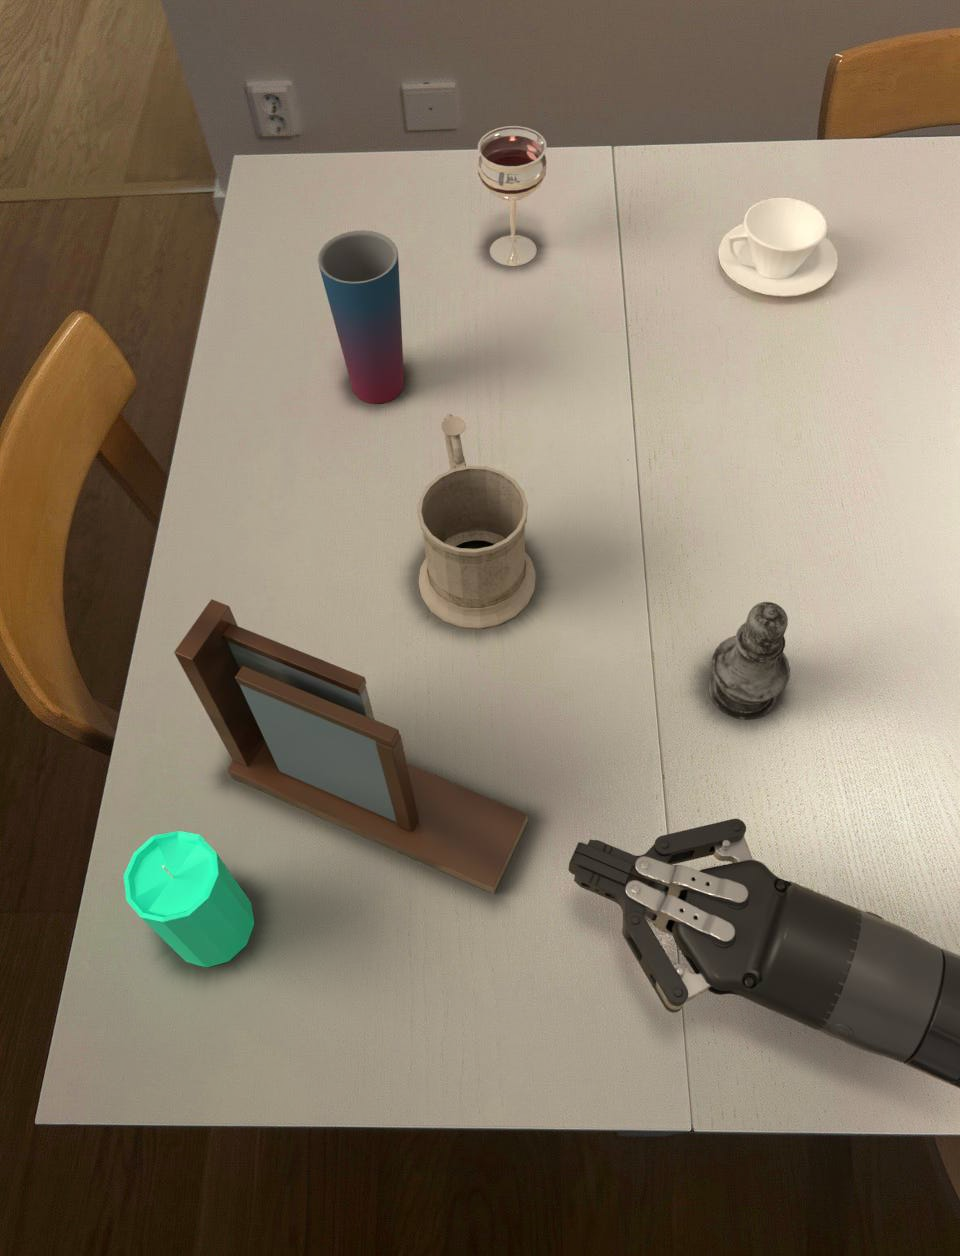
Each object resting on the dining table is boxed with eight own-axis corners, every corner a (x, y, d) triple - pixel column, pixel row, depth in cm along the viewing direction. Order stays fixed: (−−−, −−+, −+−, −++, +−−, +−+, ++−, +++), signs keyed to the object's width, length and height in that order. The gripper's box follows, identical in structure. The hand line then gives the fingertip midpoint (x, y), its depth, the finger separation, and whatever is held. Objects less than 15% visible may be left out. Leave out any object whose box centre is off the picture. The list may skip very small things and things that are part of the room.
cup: (417, 361, 104) (403, 231, 91) (408, 412, 100) (392, 284, 88) (349, 358, 104) (325, 228, 92) (337, 409, 101) (311, 281, 88)
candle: (249, 966, 73) (205, 914, 63) (163, 968, 73) (105, 915, 63) (258, 882, 76) (218, 819, 66) (176, 883, 77) (123, 820, 66)
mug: (547, 615, 88) (551, 526, 78) (431, 638, 87) (419, 552, 77) (507, 483, 95) (506, 387, 85) (400, 504, 94) (385, 409, 84)
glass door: (411, 832, 76) (390, 744, 64) (277, 773, 79) (233, 678, 67) (419, 817, 77) (399, 727, 65) (286, 760, 80) (243, 663, 67)
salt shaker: (698, 712, 83) (722, 630, 72) (712, 649, 85) (737, 562, 75) (774, 731, 81) (810, 651, 71) (786, 667, 84) (822, 581, 74)
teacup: (695, 248, 111) (702, 204, 107) (794, 216, 114) (805, 172, 109) (754, 320, 105) (764, 277, 101) (858, 285, 108) (872, 241, 103)
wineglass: (558, 249, 112) (562, 145, 102) (512, 280, 110) (511, 177, 100) (513, 221, 115) (512, 117, 105) (467, 250, 112) (462, 147, 102)
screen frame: (493, 894, 75) (486, 796, 61) (231, 777, 81) (166, 662, 66) (527, 821, 78) (528, 711, 63) (271, 713, 84) (218, 589, 69)
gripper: (798, 1090, 63) (531, 967, 68) (855, 892, 69) (607, 791, 74) (829, 1067, 57) (532, 933, 61) (888, 852, 63) (615, 744, 67)
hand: (573, 856), depth 68 cm, fingers closed
